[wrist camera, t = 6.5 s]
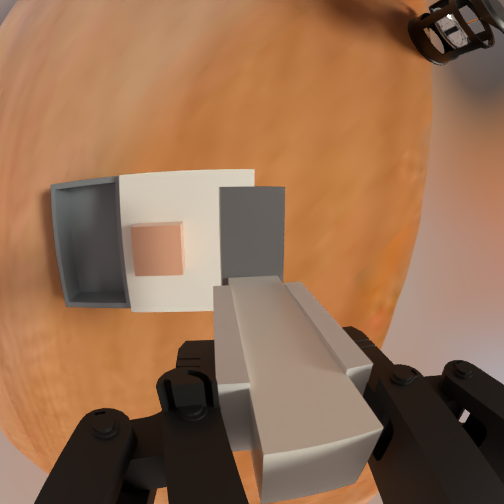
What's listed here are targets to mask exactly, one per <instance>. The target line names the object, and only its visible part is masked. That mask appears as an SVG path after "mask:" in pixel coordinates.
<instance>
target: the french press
mask: <svg viewBox="0 0 504 504" xmlns="http://www.w3.org/2000/svg"><path fill="white" fill-rule="evenodd" d="M466 5H467V6H468V7H469V8H470V9H471V10H472V11H473V12H474V13H475V14H476V16H477V17H478V18H476V19H474V20H471V21H469V22H467V23H466V22H465V20H464V19H463V17H462V15H461V14H460V12H459V10H458V9H460V8H462V7H463V6H466ZM429 10H430V13H431V14H430V13H424V14H422V15H420V16H419V17H417V18H414V19H412V20H411V21H410V22H409V24H408V31H409V34H410V37H411V39H412V41H413V43H414V45H415V46H416V48H417V49H418V50H419V51H420V53H421V54H422V55H423V56H424V57H425V58H426V59H428V60H429V61H430V62H432V63H434V64H437V65H445V64H447V63H448V62H450V61H452V60H455V59H457V58H458V56H459V55H461V54H465V53H468V52H470V51H473V50H476V49H479V48H483V49H487V48H490V47H493V46H494V44H495V41H494V35H493V32H492V30H491V28H490V25H492V26H494V27H496V28H497V29H499V30H500V31H501V32H502V33H503V34H504V8H503V6H502V5H501V3H500V2H499V1H498V0H439V1H438V2H436V3H434V4H433V5H431V6H430V7H429ZM452 13H453V15H454V16H453V15H452ZM478 20H480V21H481V23H482V25H483V27H484V29H485V31H483V32H480V33H478V34H474V32H473V31H472V30H471V29H470V27H469V26H468V24H470V23H473V22H475V21H478ZM489 24H490V25H489ZM426 27H429V28H431V29H432V30H433V31H434V32H435V33H436V34H437V35H438V37H439V38H440V40H441V42H442V44H443V46H444V54H442V53H440V52H439V51H438V50H437V49H436V48H435V47H434V46H433V44H432V43H431V42H430V40H429V39H428V37H427V36H426V34H425V32H424V30H423V29H425V28H426ZM486 40H488V45H486V44H485V43H483V41H486Z"/></svg>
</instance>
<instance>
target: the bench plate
mask: <svg viewBox="0 0 504 504" xmlns="http://www.w3.org/2000/svg"><path fill="white" fill-rule="evenodd" d="M241 186H254V169H220V170H188V171H168V172H153V173H140V174H128V175H119V190H120V213H121V228H122V241H123V251H124V261H125V269H126V277H127V284H128V291H129V298H130V304H131V310H132V312H187V311H213V286H221V269H220V232H219V187H241ZM175 221H183V229H184V249H185V265H186V268H185V271H184V274H183V275H171V276H135V269H134V260H133V250H132V238H131V227H132V226H134V225H136V224H137V223H153V222H175Z"/></svg>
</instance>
